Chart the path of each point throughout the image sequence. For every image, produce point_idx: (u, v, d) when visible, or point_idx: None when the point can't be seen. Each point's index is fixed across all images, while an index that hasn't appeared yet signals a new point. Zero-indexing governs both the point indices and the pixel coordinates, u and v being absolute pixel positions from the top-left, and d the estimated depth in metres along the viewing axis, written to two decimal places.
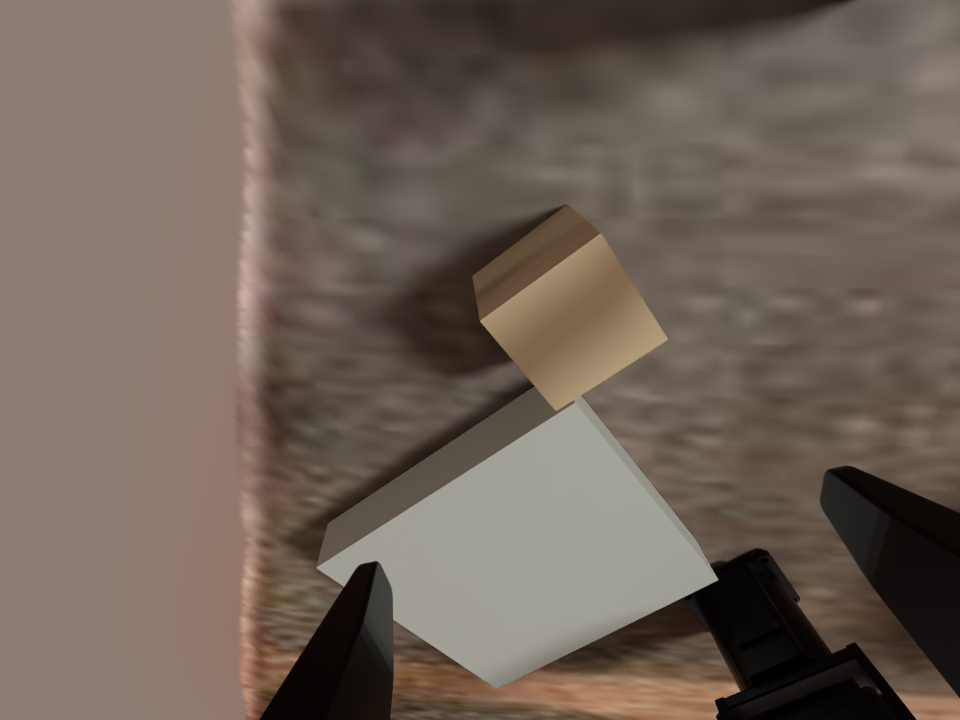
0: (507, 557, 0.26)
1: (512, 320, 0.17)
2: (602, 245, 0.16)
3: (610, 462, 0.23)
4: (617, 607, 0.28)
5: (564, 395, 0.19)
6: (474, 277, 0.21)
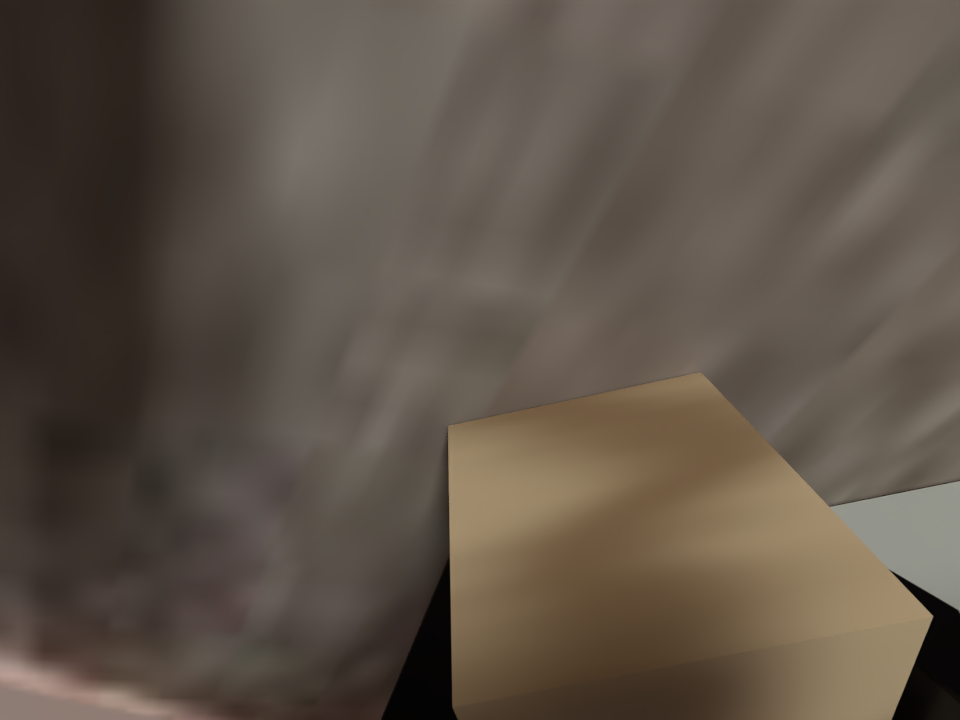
0: None
1: None
2: (491, 708, 0.05)
3: None
4: None
5: None
6: None
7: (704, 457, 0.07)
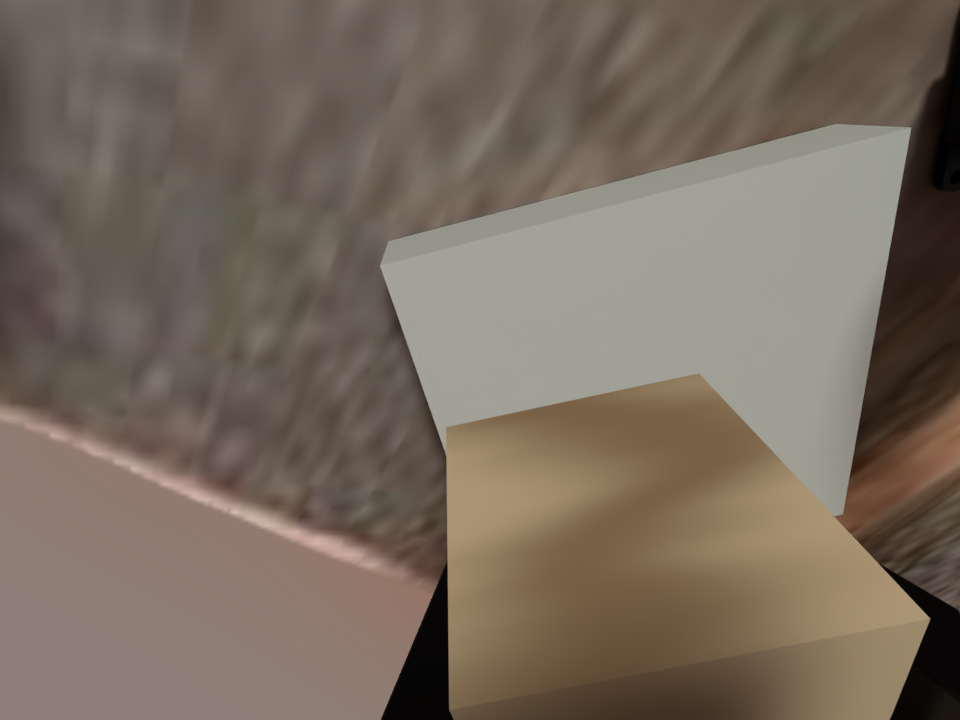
0: None
1: None
2: (488, 710, 0.05)
3: (513, 247, 0.15)
4: (824, 319, 0.17)
5: None
6: None
7: (701, 458, 0.07)
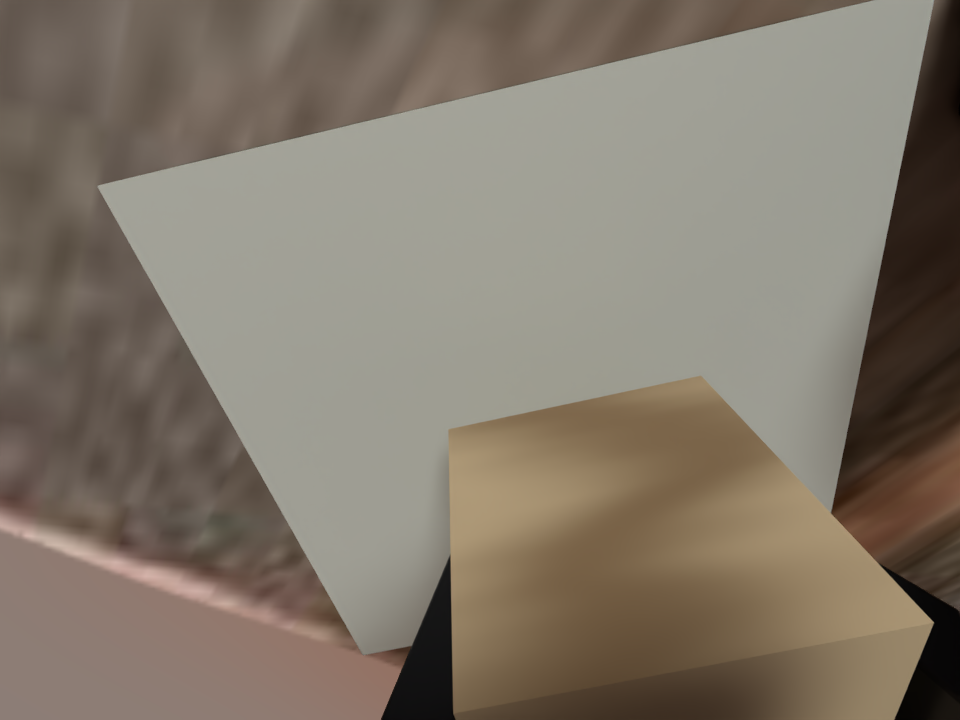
0: None
1: None
2: (492, 714, 0.05)
3: (308, 164, 0.09)
4: (797, 297, 0.11)
5: None
6: None
7: (703, 461, 0.07)
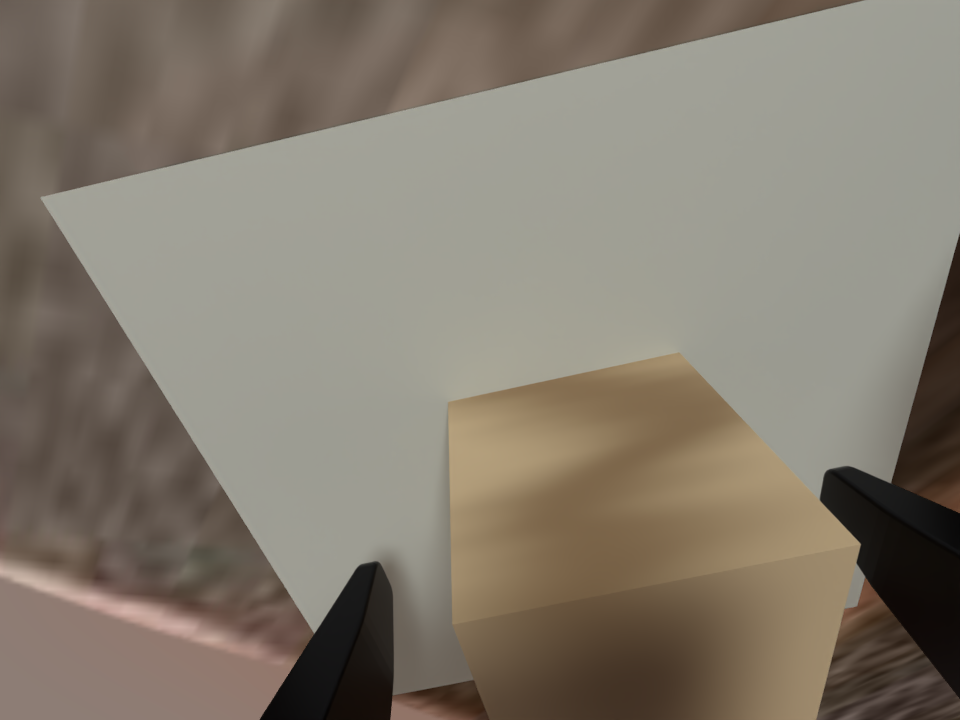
0: None
1: None
2: (486, 625, 0.06)
3: (289, 172, 0.08)
4: (848, 322, 0.10)
5: None
6: None
7: (676, 423, 0.08)
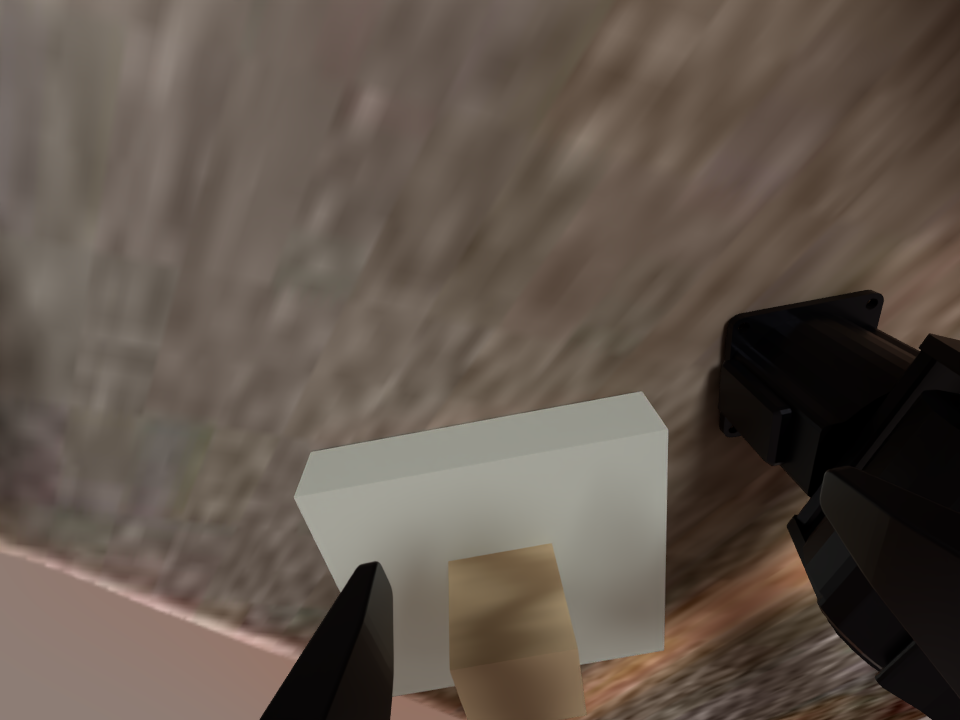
0: None
1: None
2: (460, 671, 0.19)
3: (390, 488, 0.21)
4: (626, 532, 0.23)
5: (576, 708, 0.20)
6: None
7: (539, 587, 0.21)
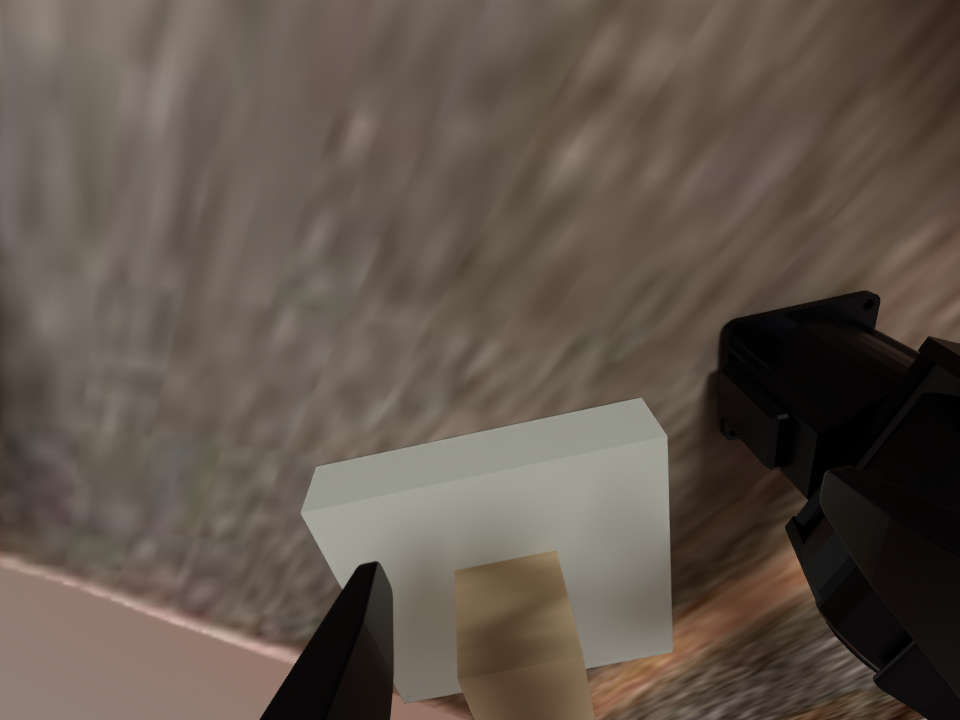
0: None
1: None
2: (468, 680, 0.19)
3: (394, 502, 0.21)
4: (630, 537, 0.23)
5: (584, 713, 0.21)
6: None
7: (544, 595, 0.21)
